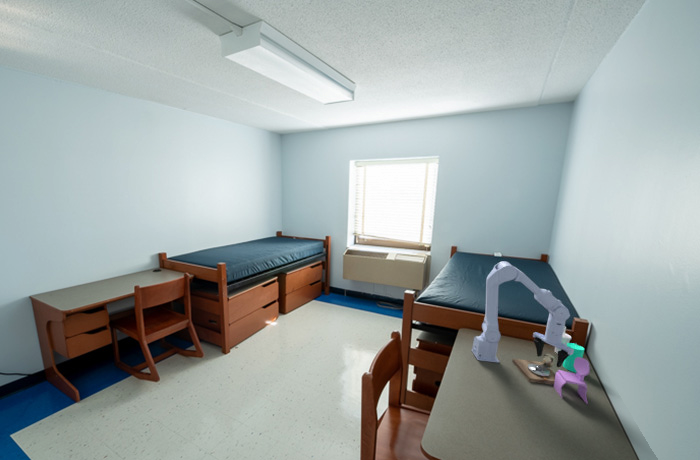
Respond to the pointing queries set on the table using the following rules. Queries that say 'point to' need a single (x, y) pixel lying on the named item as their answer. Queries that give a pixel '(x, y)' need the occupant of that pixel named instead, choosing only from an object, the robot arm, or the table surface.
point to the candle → (573, 356)
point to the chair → (574, 377)
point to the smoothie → (564, 340)
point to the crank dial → (542, 366)
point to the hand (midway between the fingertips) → (548, 360)
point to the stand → (529, 375)
